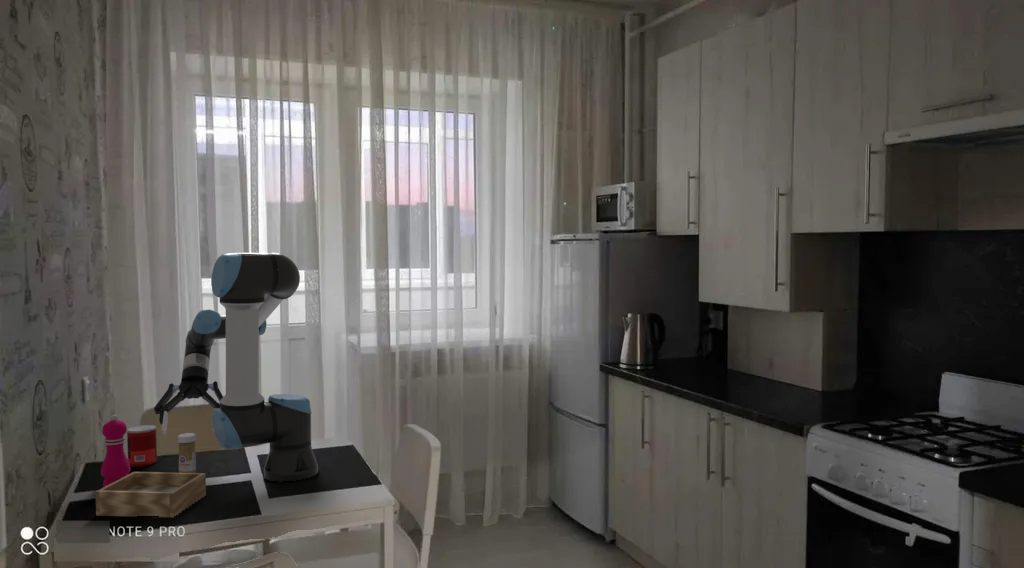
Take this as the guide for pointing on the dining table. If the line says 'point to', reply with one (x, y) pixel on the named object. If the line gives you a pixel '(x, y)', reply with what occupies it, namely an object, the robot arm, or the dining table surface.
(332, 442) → the dining table surface
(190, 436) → the sprinkles bottle
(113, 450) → the pepper mill
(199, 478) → the bore box
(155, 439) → the canned food
